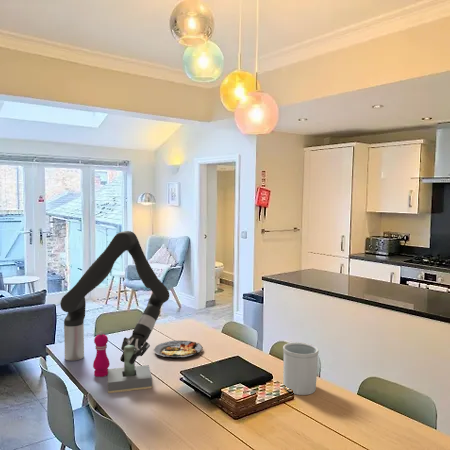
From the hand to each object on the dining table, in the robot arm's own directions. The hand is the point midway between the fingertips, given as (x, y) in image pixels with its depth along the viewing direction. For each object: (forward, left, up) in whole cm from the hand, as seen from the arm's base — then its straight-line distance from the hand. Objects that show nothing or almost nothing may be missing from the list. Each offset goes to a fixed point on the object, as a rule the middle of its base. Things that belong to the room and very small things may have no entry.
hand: (126, 362), depth 180 cm
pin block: (-1, +1, -10) cm, 10 cm away
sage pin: (-1, +1, -6) cm, 6 cm away
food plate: (-33, +28, -11) cm, 45 cm away
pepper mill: (-14, -10, -10) cm, 21 cm away
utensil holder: (+22, +71, -10) cm, 75 cm away
